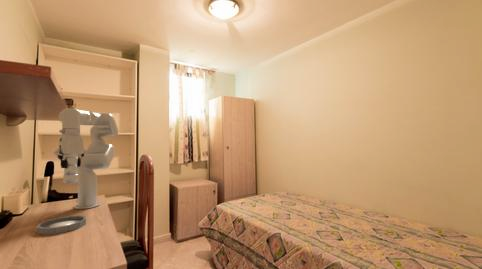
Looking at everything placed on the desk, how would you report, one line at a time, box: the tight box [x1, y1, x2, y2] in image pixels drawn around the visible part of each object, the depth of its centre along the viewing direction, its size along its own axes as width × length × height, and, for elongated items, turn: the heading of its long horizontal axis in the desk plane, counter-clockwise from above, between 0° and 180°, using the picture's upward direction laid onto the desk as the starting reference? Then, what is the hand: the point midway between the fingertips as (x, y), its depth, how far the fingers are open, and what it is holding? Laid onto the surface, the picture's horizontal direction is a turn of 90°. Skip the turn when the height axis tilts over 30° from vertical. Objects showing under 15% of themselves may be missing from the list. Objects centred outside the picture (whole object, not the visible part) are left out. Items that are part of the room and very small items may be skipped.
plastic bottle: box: [62, 153, 79, 185], centre depth 118 cm, size 6×7×20 cm
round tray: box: [36, 215, 87, 236], centre depth 102 cm, size 17×17×2 cm
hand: (70, 166), depth 118 cm, fingers closed on plastic bottle, 6 cm apart
